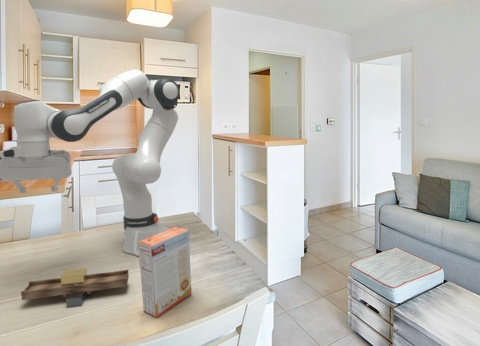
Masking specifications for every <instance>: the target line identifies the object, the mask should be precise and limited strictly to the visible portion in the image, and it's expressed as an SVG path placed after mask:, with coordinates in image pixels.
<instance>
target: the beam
mask: <svg viewBox="0 0 480 346" xmlns="http://www.w3.org/2000/svg"><path fill="white" fill-rule="evenodd" d="M129 276H130V275H129V269H125V270H124V269H123V270H122V269H121V270H114V271H107V272H105V271H104V272H99V273H97V272H96V273H91V274H90V273H89V274H87V282H86V283H82V284H74V285H66V286H62V285H61V277H55V278H49V279H40V280H31V281H28V284H27V286H26V287H25V288H24V290H21V292H20V295H21V300H22V301H25V300H32V299H40V298H49V297H55V296H62V297H63V298H64V299H66V298H67V297H68V295H69V294H71V293H79V292H87V295H91V293H92V292H94V291H100V290H107V289H116V288H124V287H127V286H128V282H129V278H130V277H129ZM87 295H86V296H87Z"/></svg>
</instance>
